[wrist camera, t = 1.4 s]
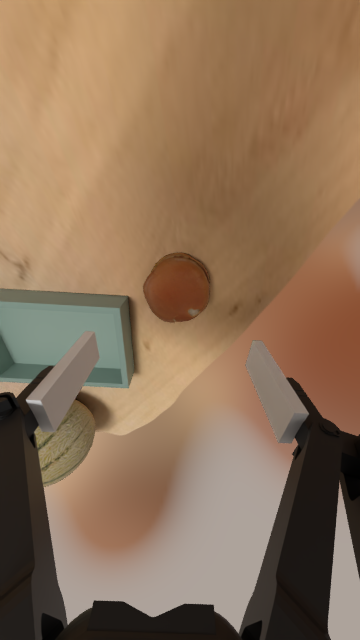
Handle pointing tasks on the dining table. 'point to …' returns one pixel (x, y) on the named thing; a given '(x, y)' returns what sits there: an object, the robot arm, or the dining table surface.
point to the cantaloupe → (65, 444)
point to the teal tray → (64, 334)
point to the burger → (177, 288)
